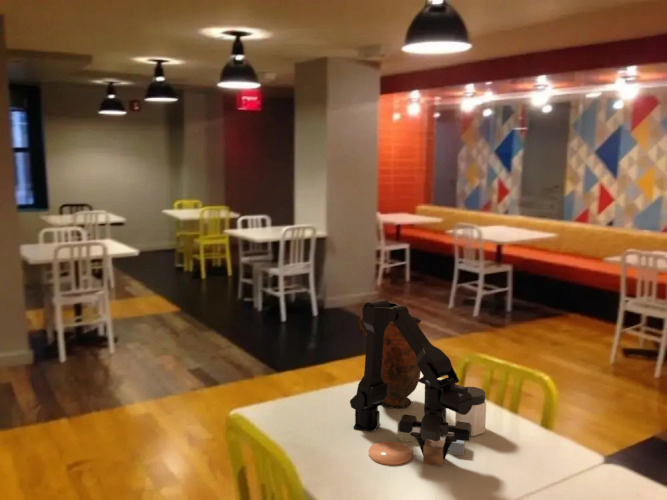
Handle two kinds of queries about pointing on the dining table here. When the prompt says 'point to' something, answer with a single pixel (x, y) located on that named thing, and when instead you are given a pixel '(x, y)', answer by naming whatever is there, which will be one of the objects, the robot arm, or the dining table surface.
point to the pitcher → (397, 366)
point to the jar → (475, 412)
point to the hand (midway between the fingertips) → (434, 457)
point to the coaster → (390, 453)
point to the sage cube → (404, 436)
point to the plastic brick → (457, 447)
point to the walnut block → (433, 452)
